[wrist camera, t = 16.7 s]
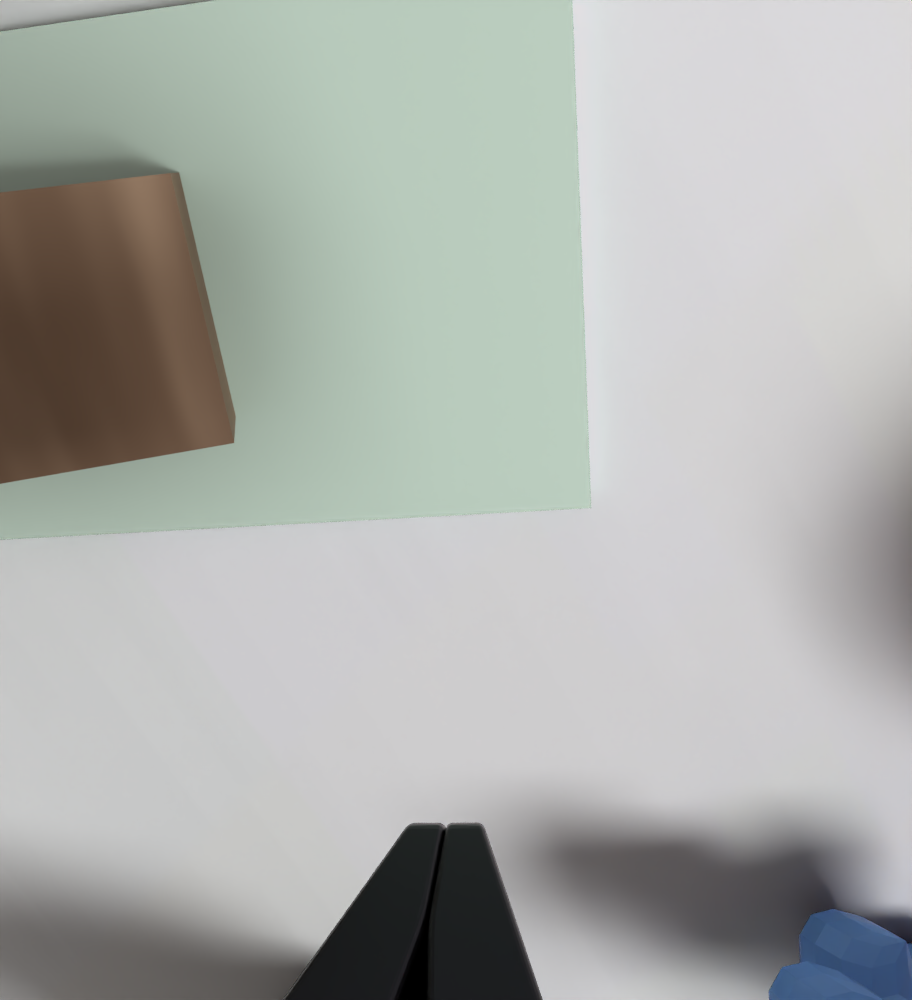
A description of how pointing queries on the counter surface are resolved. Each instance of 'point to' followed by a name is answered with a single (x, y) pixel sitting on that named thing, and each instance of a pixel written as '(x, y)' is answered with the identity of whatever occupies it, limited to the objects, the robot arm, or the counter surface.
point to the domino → (104, 329)
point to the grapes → (846, 962)
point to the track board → (336, 250)
